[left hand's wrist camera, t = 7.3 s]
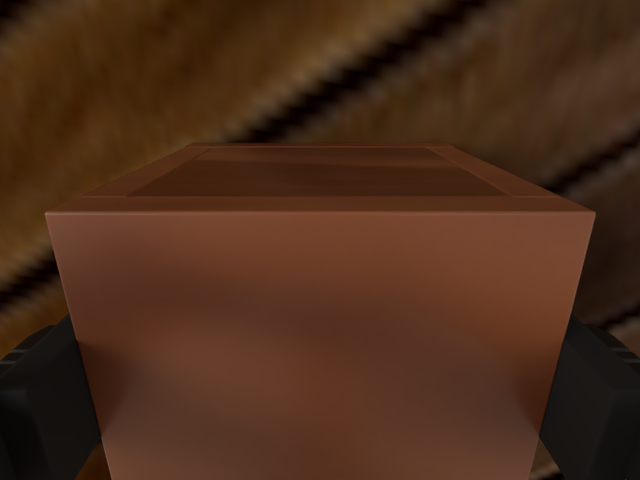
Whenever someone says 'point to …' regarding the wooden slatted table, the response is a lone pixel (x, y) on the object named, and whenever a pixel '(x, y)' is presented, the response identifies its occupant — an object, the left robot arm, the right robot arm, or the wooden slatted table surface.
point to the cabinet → (320, 312)
